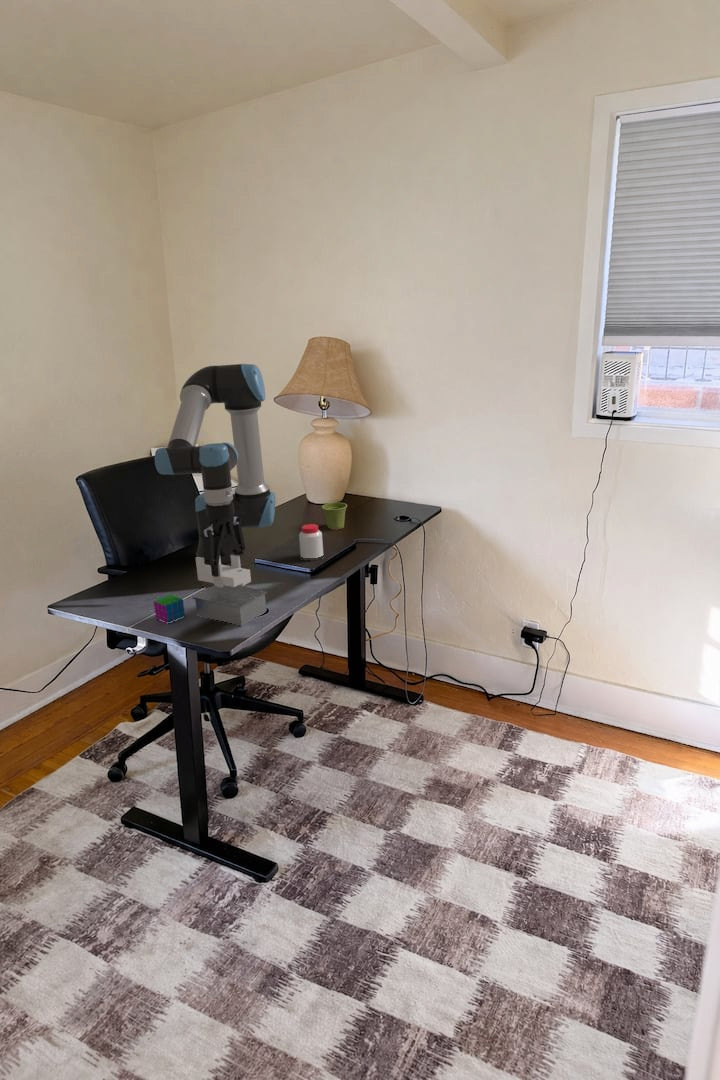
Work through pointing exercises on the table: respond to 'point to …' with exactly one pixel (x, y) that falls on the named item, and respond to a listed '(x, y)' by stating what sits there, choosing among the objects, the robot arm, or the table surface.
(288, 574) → the table surface
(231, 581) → the bracket
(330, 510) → the plant pot
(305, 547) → the pill bottle
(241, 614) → the gray rectangular block
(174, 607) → the puzzle toy
